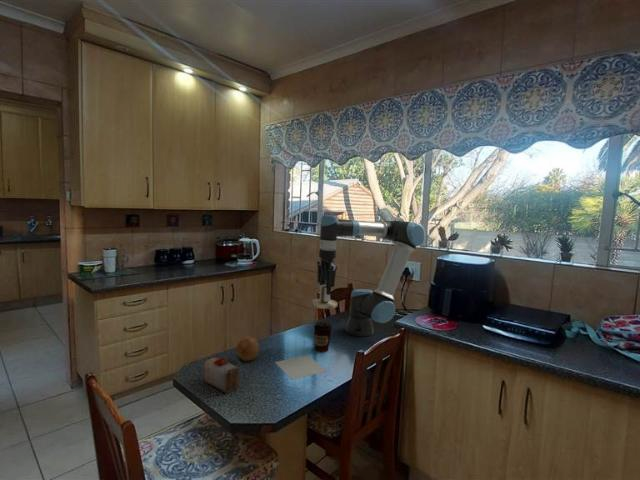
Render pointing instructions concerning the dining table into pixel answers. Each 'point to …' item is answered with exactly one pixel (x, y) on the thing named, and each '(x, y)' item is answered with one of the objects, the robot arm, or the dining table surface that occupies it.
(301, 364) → the mat
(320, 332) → the coffee cup
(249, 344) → the onion
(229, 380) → the food item
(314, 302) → the lid
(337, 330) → the dining table surface
